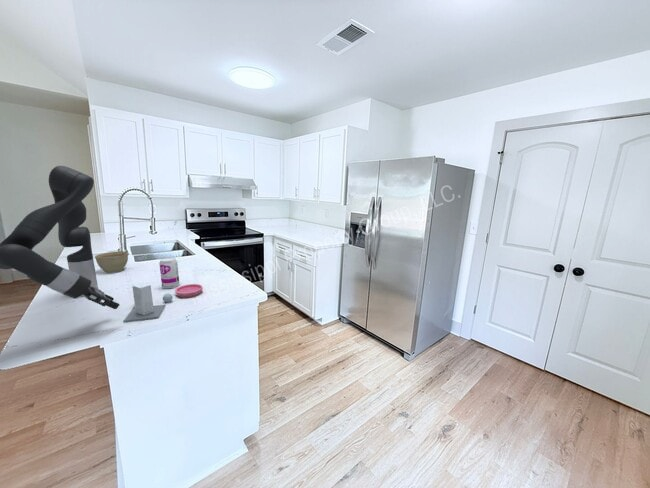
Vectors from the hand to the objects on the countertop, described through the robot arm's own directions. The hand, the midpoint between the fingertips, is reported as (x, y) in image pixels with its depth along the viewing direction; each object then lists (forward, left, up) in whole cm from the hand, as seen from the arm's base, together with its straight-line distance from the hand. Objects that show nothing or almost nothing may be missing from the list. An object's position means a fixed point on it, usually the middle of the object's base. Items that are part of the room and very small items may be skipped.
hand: (114, 303), depth 102 cm
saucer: (+22, +24, -8) cm, 34 cm away
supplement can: (+11, +38, -8) cm, 40 cm away
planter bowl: (-28, +77, -8) cm, 82 cm away
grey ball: (+14, +16, -8) cm, 23 cm away
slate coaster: (+8, +5, -8) cm, 12 cm away
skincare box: (+8, +5, -7) cm, 12 cm away
